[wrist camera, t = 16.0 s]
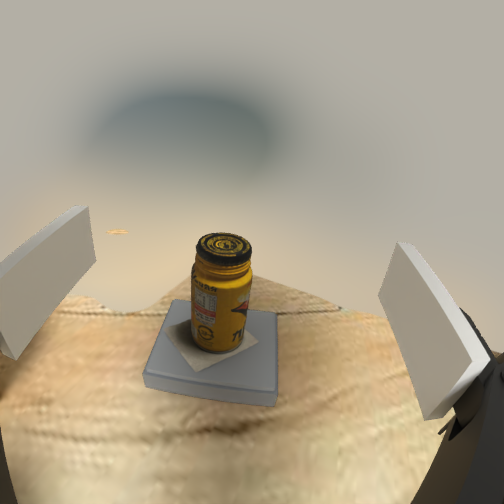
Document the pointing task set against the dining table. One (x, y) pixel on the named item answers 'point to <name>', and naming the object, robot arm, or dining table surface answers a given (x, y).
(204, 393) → the grey square coaster
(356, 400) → the dining table surface
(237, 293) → the condiment
